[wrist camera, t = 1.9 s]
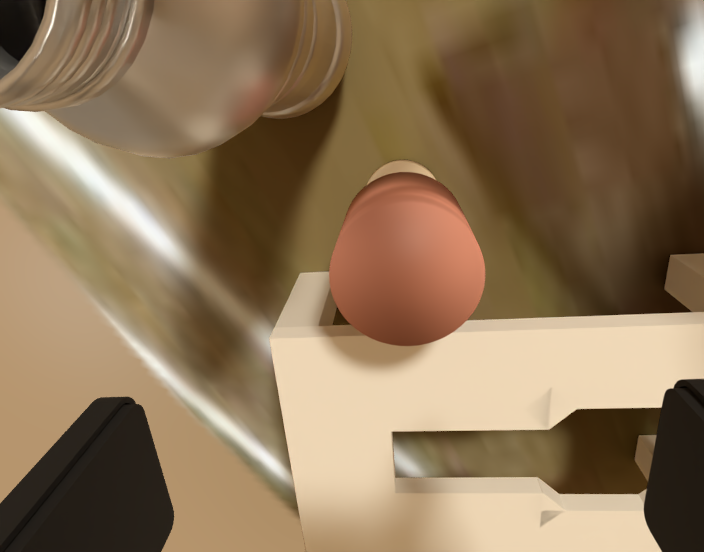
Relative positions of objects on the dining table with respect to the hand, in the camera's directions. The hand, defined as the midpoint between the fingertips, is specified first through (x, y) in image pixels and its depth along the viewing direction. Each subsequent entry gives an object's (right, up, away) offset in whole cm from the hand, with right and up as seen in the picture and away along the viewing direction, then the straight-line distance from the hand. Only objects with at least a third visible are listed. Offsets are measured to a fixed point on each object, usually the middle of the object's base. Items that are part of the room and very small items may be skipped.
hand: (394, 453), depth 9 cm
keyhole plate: (+8, -3, +21) cm, 22 cm away
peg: (+2, +7, +17) cm, 19 cm away
